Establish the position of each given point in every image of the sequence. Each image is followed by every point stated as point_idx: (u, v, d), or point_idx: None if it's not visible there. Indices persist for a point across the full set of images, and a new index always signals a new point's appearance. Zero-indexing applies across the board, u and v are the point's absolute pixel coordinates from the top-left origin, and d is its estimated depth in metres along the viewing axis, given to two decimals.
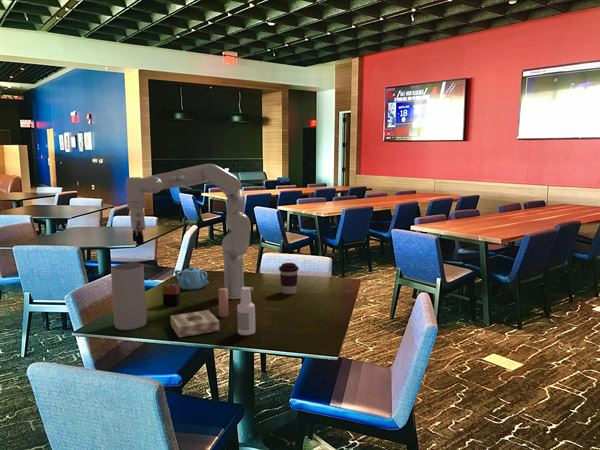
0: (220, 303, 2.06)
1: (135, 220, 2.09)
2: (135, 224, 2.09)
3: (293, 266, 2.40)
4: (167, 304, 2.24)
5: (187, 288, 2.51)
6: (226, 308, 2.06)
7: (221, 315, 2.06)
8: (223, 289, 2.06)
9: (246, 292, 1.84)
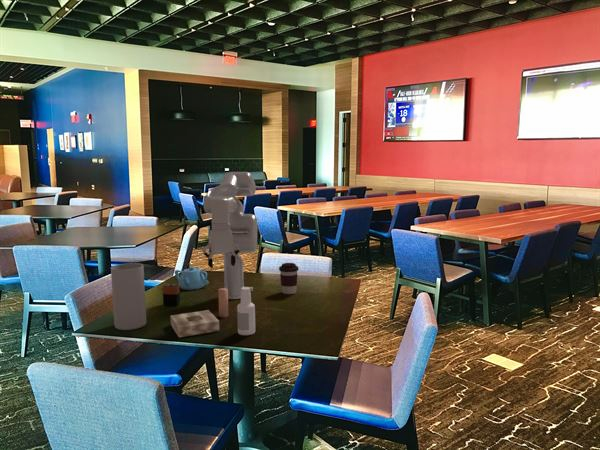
0: (220, 303, 2.06)
1: (233, 241, 2.05)
2: (233, 245, 2.05)
3: (293, 266, 2.40)
4: (167, 304, 2.24)
5: (187, 288, 2.51)
6: (226, 308, 2.06)
7: (221, 315, 2.06)
8: (223, 289, 2.06)
9: (246, 292, 1.84)
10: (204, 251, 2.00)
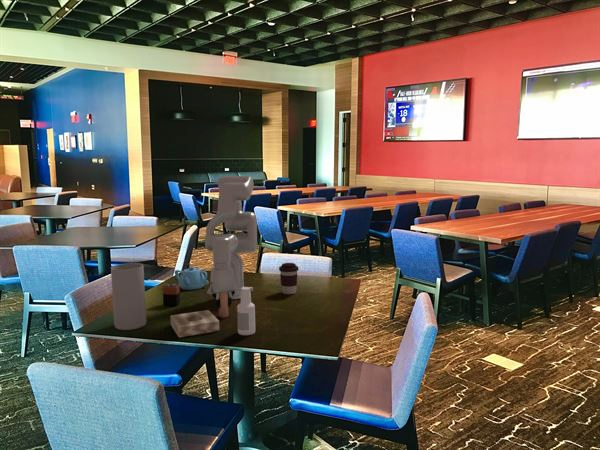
0: (220, 303, 2.06)
1: (234, 279, 2.07)
2: (234, 283, 2.07)
3: (293, 266, 2.40)
4: (167, 304, 2.24)
5: (187, 288, 2.51)
6: (226, 308, 2.06)
7: (221, 315, 2.06)
8: None
9: (246, 292, 1.84)
10: (210, 293, 2.04)
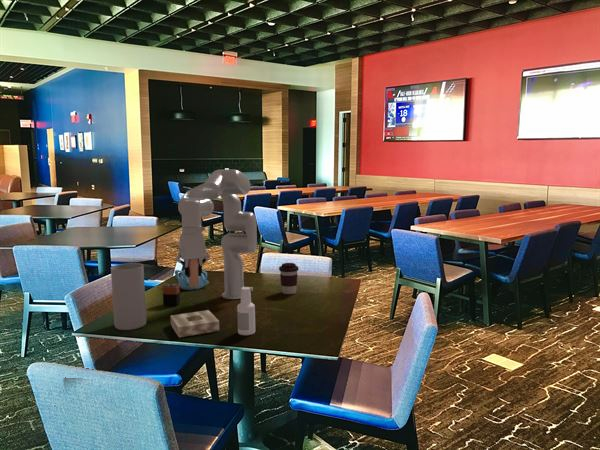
0: (190, 271, 1.89)
1: (205, 246, 1.91)
2: (205, 250, 1.91)
3: (293, 266, 2.40)
4: (167, 304, 2.24)
5: (187, 288, 2.51)
6: (196, 277, 1.90)
7: (191, 284, 1.90)
8: None
9: (246, 292, 1.84)
10: (179, 260, 1.87)
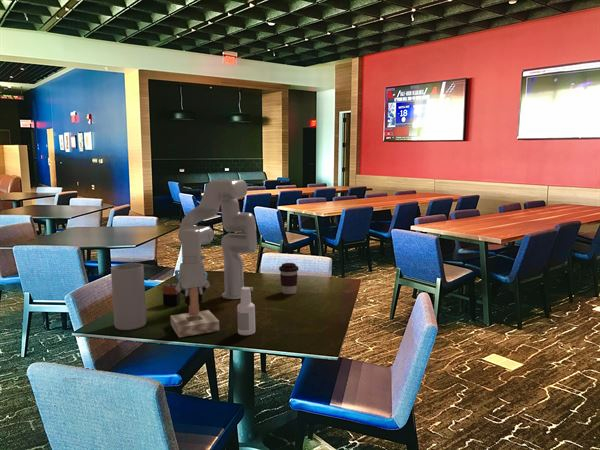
0: (190, 300, 1.90)
1: None
2: (205, 279, 1.92)
3: (293, 266, 2.40)
4: (167, 304, 2.24)
5: None
6: (196, 305, 1.91)
7: (191, 313, 1.91)
8: None
9: (246, 292, 1.84)
10: (179, 289, 1.88)
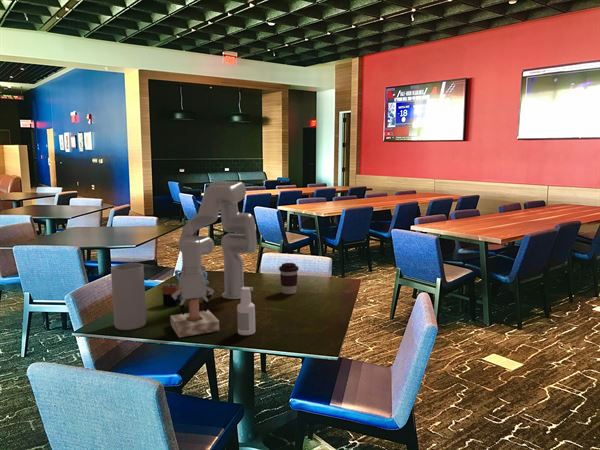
0: (190, 314, 1.91)
1: (205, 285, 1.92)
2: (206, 289, 1.92)
3: (293, 266, 2.40)
4: (167, 304, 2.24)
5: None
6: (197, 319, 1.92)
7: None
8: (194, 299, 1.92)
9: (246, 292, 1.84)
10: (175, 297, 1.88)
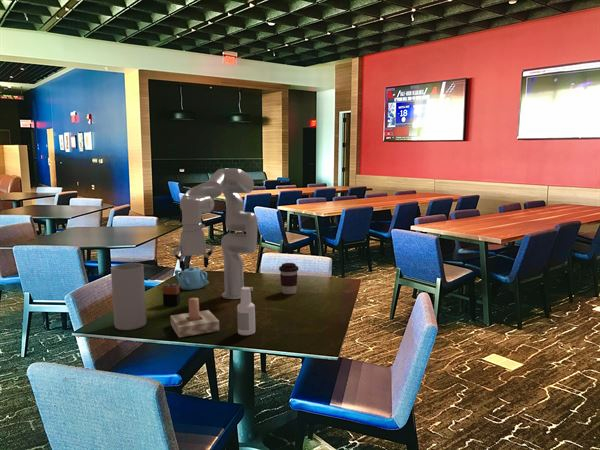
0: (190, 314, 1.91)
1: (205, 242, 1.97)
2: (206, 246, 1.97)
3: (293, 266, 2.40)
4: (167, 304, 2.24)
5: (187, 288, 2.51)
6: (197, 319, 1.92)
7: None
8: (194, 299, 1.92)
9: (246, 292, 1.84)
10: (175, 253, 1.93)
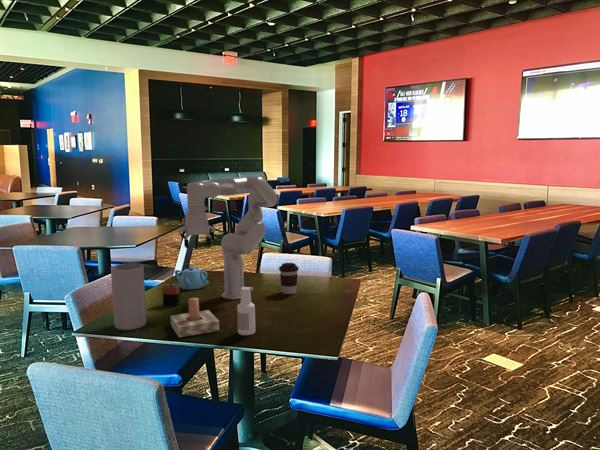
0: (190, 314, 1.91)
1: None
2: None
3: (293, 266, 2.40)
4: (167, 304, 2.24)
5: (187, 288, 2.51)
6: (197, 319, 1.92)
7: None
8: (194, 299, 1.92)
9: (246, 292, 1.84)
10: (180, 232, 2.13)
